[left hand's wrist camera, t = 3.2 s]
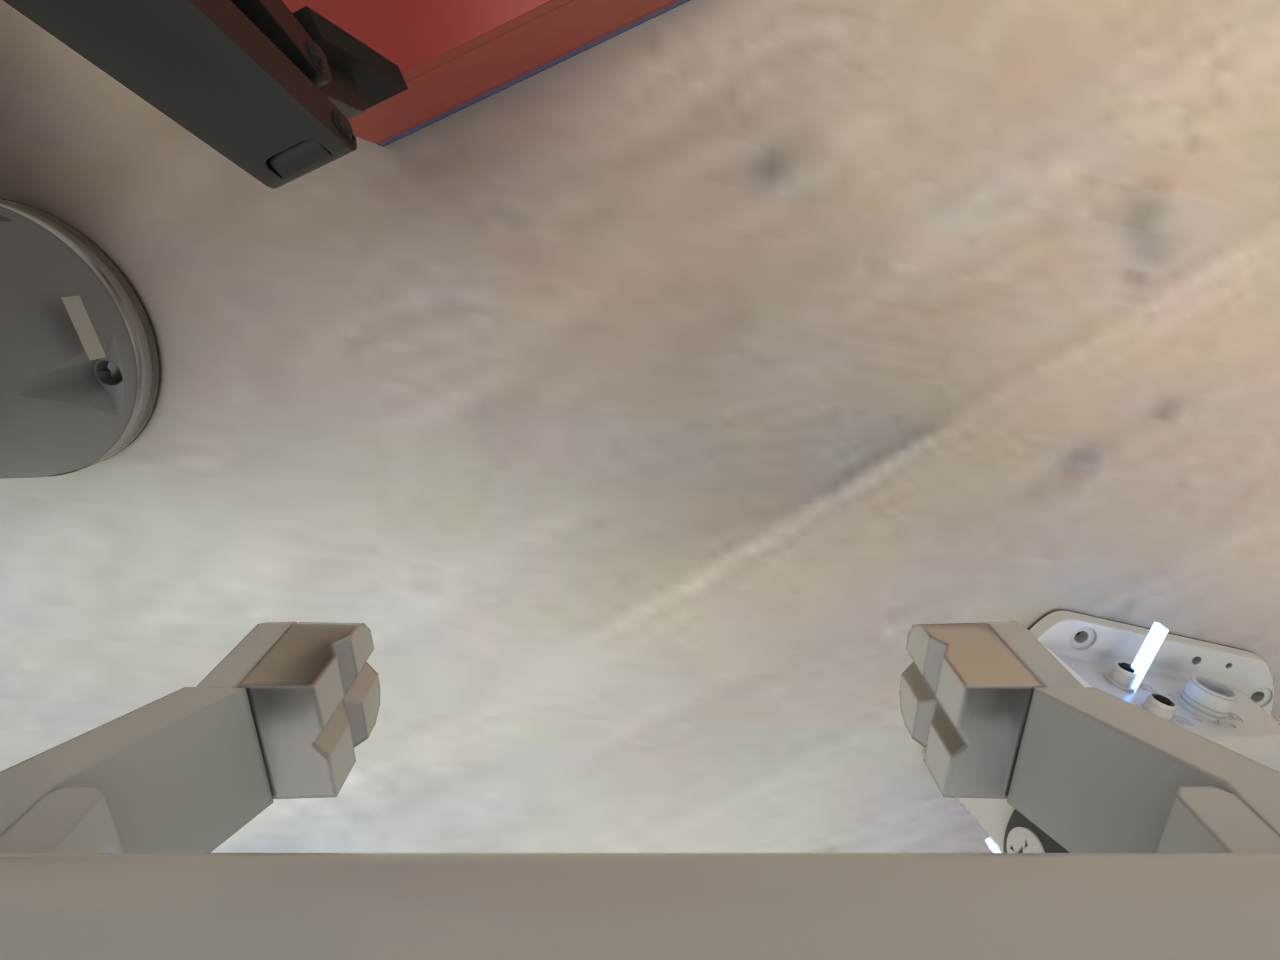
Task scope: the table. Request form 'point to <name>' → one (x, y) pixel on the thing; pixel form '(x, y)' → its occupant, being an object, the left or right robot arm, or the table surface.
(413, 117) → the red case
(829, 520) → the table surface
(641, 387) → the table surface
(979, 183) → the table surface
